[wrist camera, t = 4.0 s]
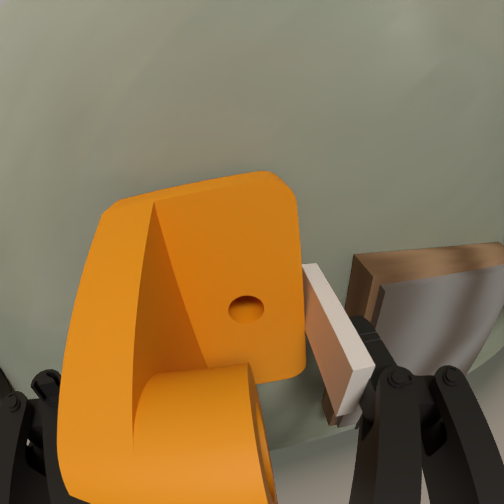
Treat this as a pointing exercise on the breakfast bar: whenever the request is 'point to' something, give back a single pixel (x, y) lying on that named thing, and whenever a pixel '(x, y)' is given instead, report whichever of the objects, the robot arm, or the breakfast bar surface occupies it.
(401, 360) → the plinth
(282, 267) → the bracket
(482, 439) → the robot arm
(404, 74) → the breakfast bar surface
